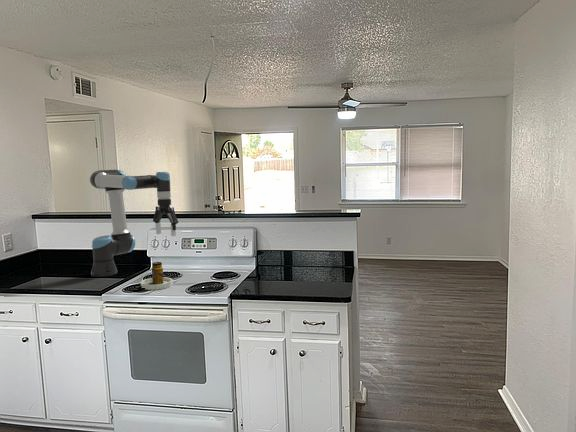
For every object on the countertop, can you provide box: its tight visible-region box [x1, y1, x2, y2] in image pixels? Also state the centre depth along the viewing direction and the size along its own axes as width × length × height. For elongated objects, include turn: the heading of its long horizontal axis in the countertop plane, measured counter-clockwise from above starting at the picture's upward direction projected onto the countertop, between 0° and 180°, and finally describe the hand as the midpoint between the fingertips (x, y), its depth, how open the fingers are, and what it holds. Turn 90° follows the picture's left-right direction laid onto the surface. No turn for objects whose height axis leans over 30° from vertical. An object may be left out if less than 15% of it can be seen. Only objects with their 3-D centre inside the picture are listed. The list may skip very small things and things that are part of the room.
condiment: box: [147, 261, 164, 285], centre depth 257 cm, size 7×8×12 cm
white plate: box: [140, 276, 174, 291], centre depth 258 cm, size 17×17×2 cm
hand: (166, 234), depth 267 cm, fingers open, 13 cm apart
